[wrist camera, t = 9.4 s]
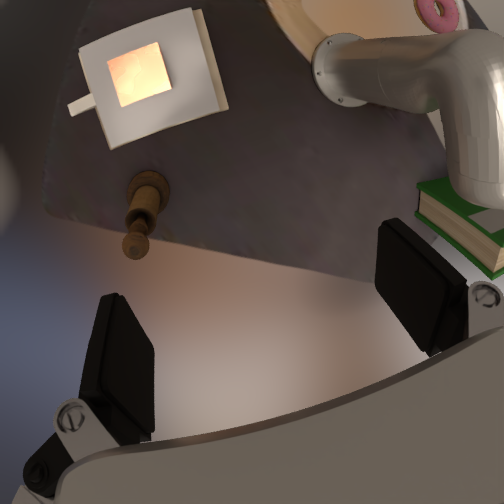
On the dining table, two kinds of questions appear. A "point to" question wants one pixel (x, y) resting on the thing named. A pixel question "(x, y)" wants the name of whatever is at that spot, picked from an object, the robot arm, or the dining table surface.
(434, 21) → the doughnut
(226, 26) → the dining table surface
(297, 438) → the robot arm
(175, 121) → the press pot
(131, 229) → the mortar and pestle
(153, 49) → the brown square-faced block
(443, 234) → the hardback book
